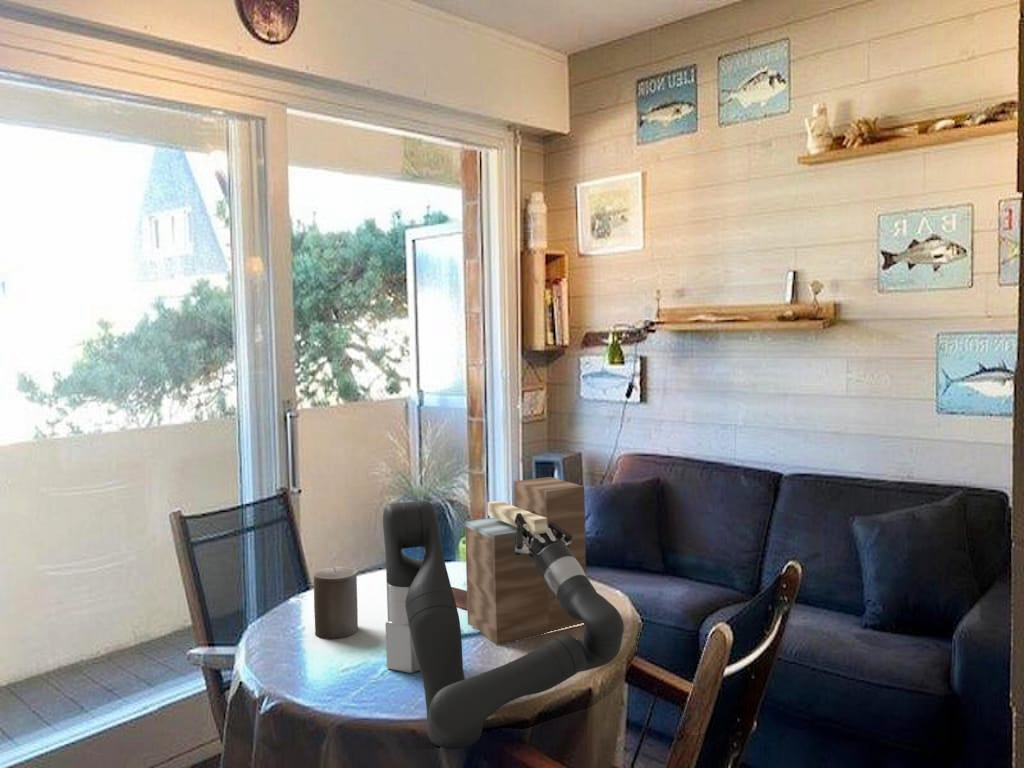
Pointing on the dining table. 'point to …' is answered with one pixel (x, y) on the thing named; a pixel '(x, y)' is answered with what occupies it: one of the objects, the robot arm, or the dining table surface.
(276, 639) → the dining table surface
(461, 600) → the wooden tablet
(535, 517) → the maple rod
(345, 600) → the pillar candle
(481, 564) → the block
